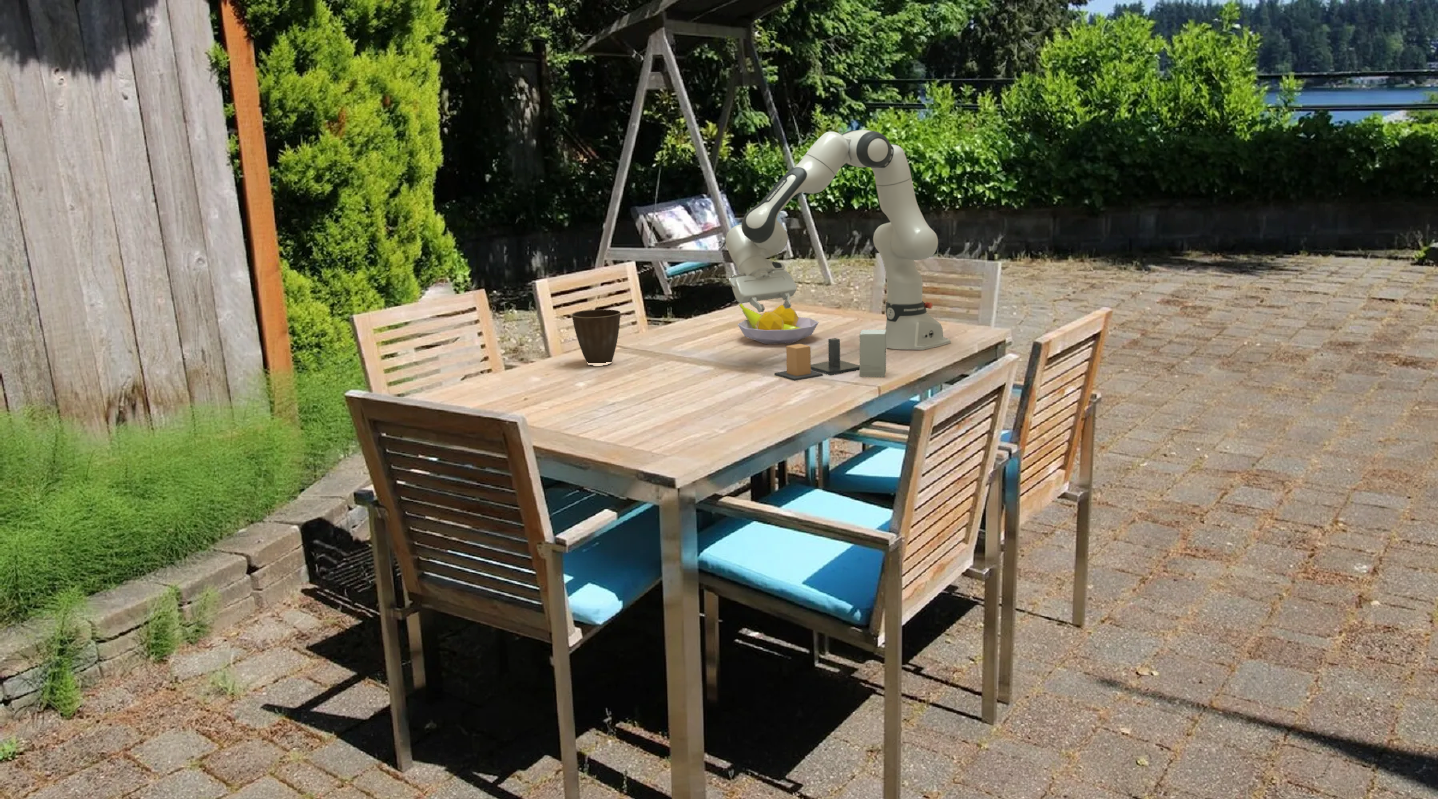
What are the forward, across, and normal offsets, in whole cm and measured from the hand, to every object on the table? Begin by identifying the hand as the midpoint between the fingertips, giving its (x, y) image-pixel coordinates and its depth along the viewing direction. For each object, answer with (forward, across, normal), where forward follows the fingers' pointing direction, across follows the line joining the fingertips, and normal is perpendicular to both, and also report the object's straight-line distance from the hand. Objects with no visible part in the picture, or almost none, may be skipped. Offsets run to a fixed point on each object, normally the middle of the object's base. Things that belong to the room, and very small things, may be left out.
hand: (775, 309), depth 354 cm
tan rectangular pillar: (+20, 0, +4) cm, 21 cm away
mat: (+21, 0, +5) cm, 21 cm away
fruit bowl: (-14, +26, +40) cm, 49 cm away
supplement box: (+30, +17, -4) cm, 35 cm away
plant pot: (-17, -38, +42) cm, 59 cm away
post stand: (+21, +13, +5) cm, 25 cm away
